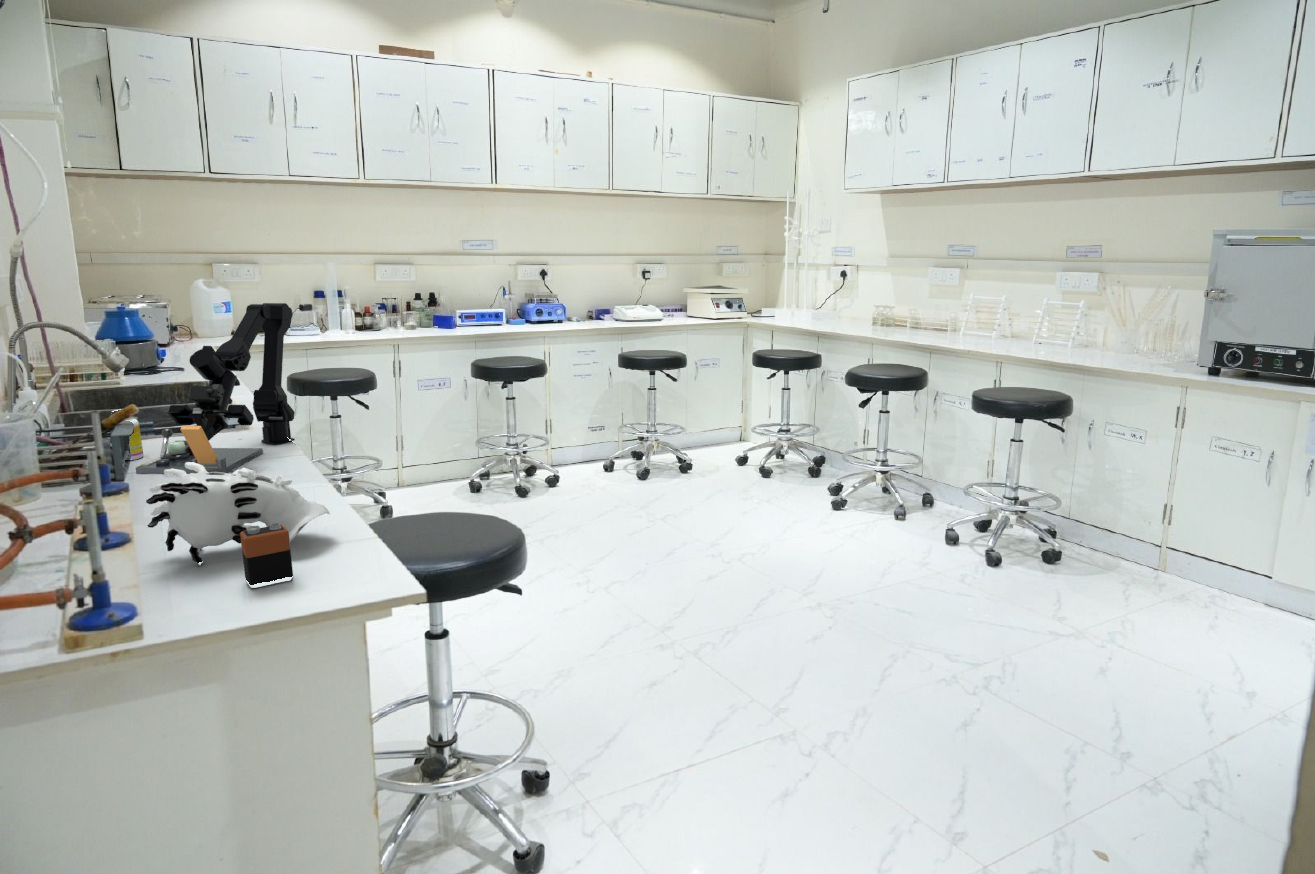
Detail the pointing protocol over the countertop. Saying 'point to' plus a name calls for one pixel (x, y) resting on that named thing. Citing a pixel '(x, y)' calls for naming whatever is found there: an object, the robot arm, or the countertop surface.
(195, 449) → the paddle
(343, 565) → the countertop surface
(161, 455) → the toggle
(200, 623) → the countertop surface
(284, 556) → the battery
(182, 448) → the button
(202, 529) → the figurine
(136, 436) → the yellow bottle
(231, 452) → the panel
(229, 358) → the robot arm
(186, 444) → the labelled grey box
